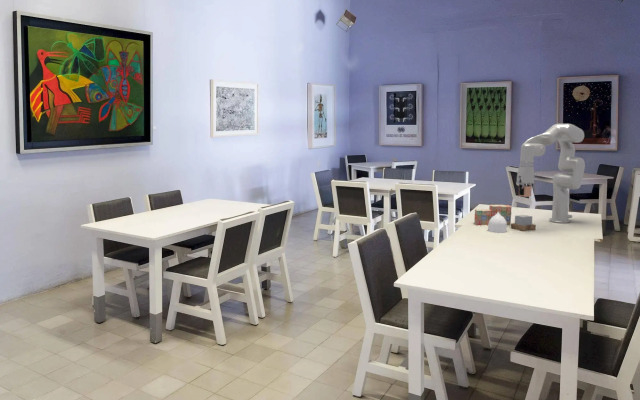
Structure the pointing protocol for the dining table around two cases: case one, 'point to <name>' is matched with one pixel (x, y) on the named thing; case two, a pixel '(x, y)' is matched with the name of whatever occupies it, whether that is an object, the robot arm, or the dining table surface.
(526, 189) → the terracotta block
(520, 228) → the plinth
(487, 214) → the stack of blocks
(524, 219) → the grey block
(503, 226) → the teardrop
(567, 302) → the dining table surface
